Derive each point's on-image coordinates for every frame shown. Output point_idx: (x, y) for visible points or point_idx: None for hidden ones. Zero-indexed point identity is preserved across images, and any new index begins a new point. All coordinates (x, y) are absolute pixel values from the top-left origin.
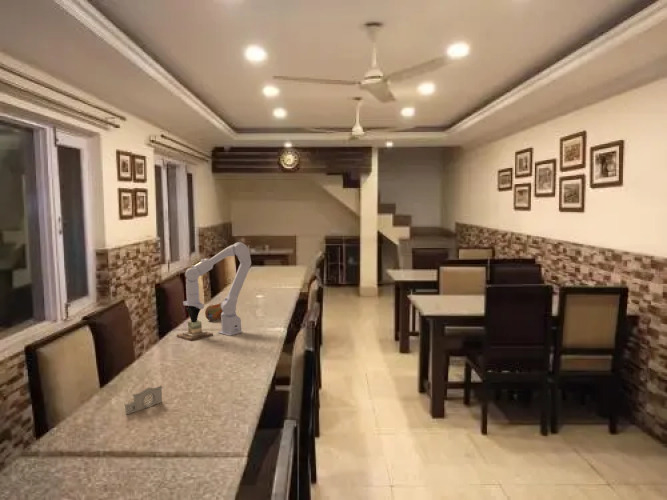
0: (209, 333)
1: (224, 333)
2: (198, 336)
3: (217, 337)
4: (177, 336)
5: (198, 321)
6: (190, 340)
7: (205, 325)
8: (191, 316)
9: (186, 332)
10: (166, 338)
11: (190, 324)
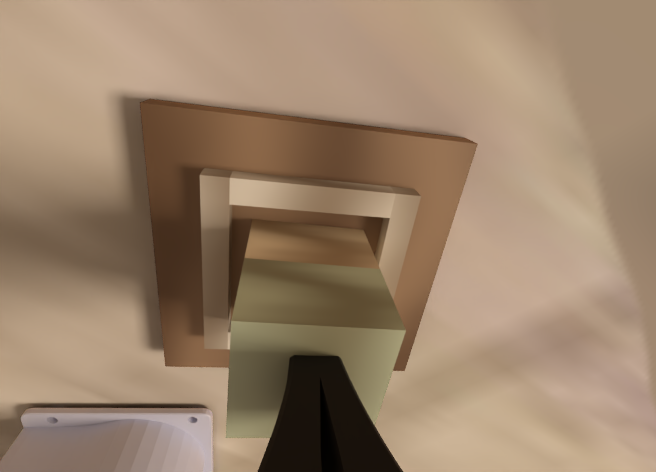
0: (191, 349)
1: (106, 416)
2: (171, 228)
3: (67, 335)
4: (454, 137)
5: (259, 417)
6: (156, 101)
7: (484, 456)
8: (305, 449)
9: (391, 230)
10: (544, 15)
11: (314, 302)
